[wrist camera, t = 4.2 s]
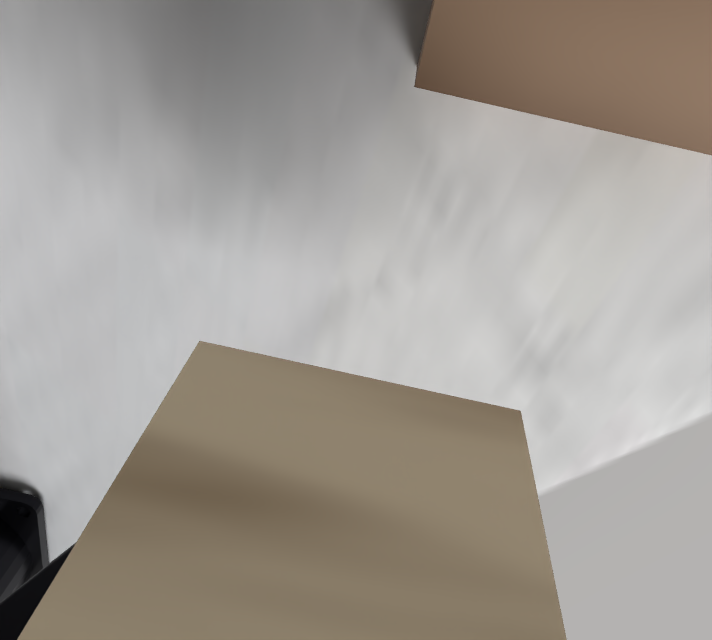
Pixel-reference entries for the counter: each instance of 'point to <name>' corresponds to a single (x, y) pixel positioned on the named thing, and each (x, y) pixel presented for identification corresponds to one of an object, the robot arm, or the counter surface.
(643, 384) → the counter surface
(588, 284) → the counter surface
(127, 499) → the maple cube
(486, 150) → the counter surface
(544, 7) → the walnut block
